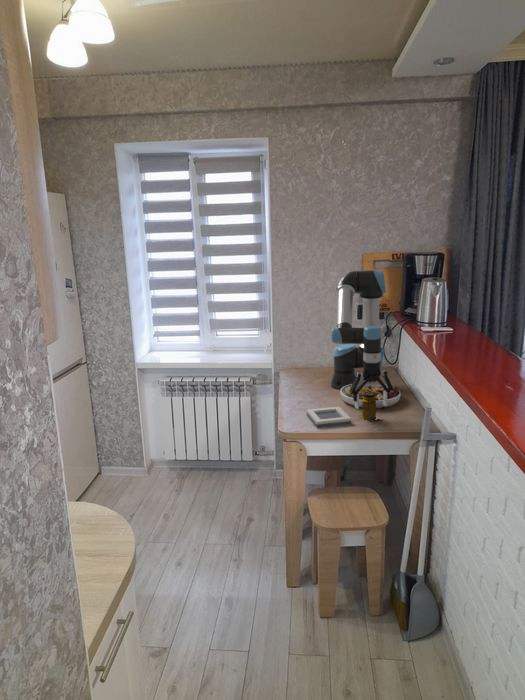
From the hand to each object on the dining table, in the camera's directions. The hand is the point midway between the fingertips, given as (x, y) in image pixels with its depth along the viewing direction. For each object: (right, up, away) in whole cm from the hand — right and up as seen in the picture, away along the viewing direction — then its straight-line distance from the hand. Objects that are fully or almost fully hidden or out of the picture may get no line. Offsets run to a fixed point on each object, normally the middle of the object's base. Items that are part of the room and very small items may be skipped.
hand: (371, 406), depth 213 cm
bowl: (+6, 0, +27) cm, 27 cm away
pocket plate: (-19, -6, +2) cm, 20 cm away
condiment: (0, -6, +2) cm, 6 cm away
